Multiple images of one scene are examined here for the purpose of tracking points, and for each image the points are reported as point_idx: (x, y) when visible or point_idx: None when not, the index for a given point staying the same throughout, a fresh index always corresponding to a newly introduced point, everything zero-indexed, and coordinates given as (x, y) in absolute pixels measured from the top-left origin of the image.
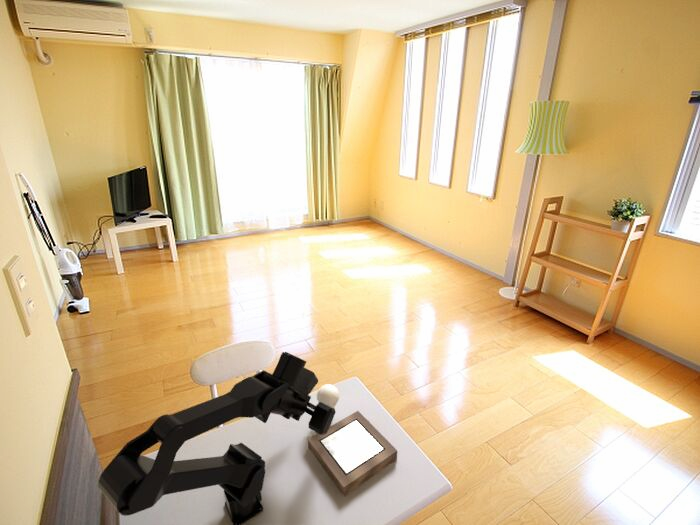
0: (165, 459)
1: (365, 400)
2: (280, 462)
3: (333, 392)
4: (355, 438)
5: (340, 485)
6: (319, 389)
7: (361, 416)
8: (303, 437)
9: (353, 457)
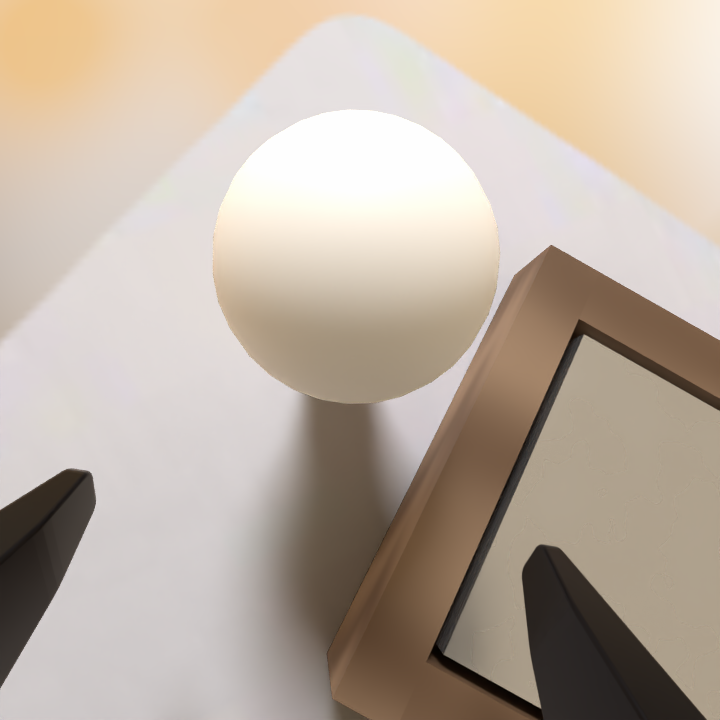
0: None
1: (483, 119)
2: None
3: (479, 239)
4: (664, 497)
5: None
6: (242, 251)
7: (600, 287)
8: (243, 586)
9: None
